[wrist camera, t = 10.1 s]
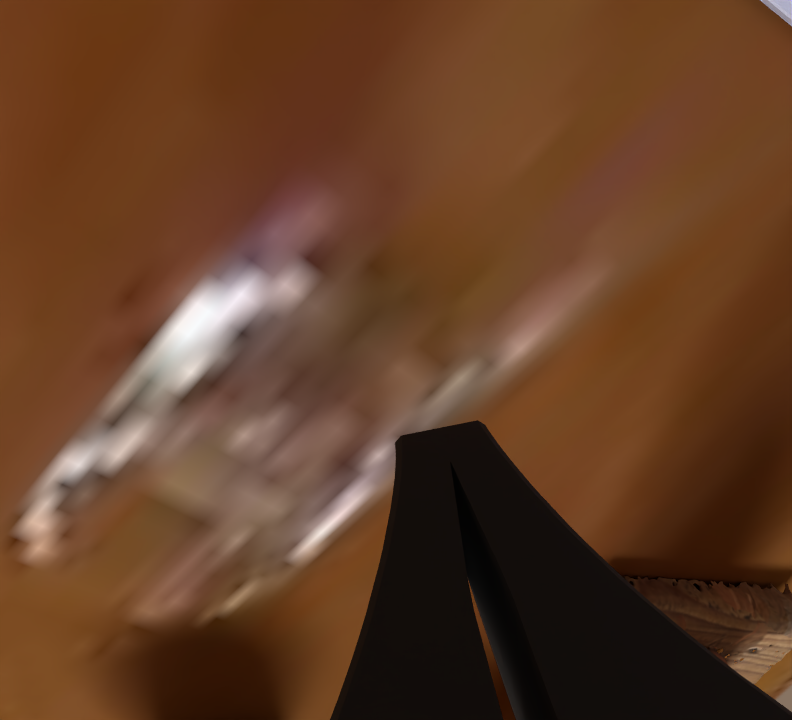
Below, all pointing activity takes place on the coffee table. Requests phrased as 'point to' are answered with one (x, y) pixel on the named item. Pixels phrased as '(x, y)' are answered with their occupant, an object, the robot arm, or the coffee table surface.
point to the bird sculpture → (728, 619)
